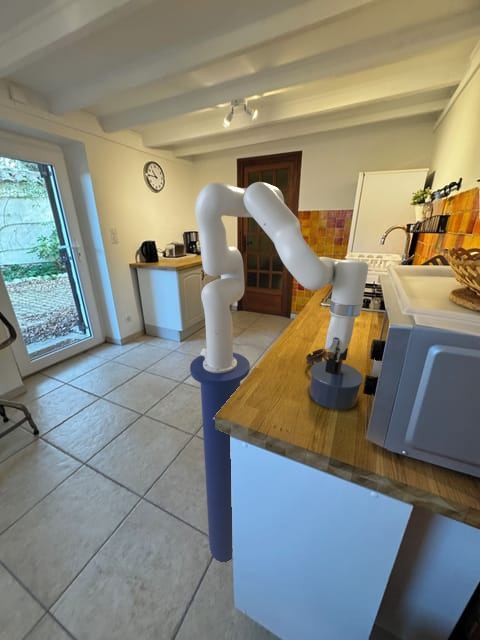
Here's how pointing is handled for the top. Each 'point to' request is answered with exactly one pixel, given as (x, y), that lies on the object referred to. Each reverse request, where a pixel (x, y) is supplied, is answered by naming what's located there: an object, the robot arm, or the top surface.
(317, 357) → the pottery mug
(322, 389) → the bowl
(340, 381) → the bowl lid
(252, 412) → the top surface
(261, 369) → the top surface
